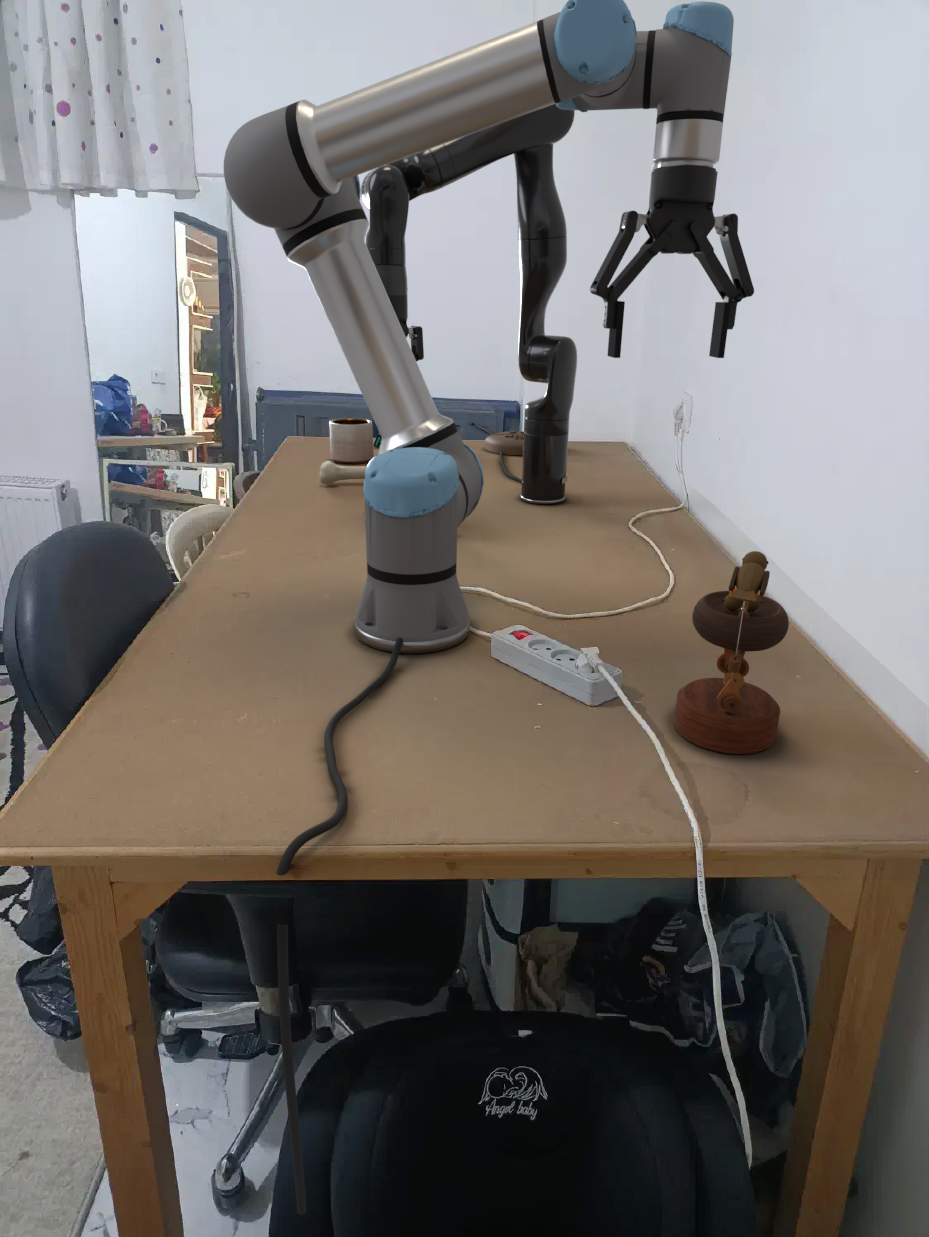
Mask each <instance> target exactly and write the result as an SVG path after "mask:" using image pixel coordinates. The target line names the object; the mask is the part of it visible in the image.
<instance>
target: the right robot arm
mask: <svg viewBox="0 0 929 1237" xmlns="http://www.w3.org/2000/svg"><path fill="white" fill-rule="evenodd" d="M575 111H576V110H562V109H560V108H558V107H557V106H556V104H553V105H550V106H547V107H545V108H542V109H539V110H536V111H533V112H531V113H528V114H525V115H522V116H520V117H517V118H514V119H511V120H509V121H506V122H503V123H500V124H497V125H495V126H492V127H489V128H486V129H484V130H481V131H478V132H475V133H473V134H470V135H467V136H464V137H461V138H459V139H456V140H453V141H450V142H448V143H445V144H442V145H439V146H437V147H434V148H431V149H428V150H425V151H423V152H420V153H417V154H414V155H412V156H409V157H406V158H403V159H401V160H398V161H395V162H392V163H389V164H387V165H384V166H381V167H378V168H376V169H373V170H370V171H368V173H367V174H366V175H365V176H364V177H363V180H362V182H361V184H360V189H361V194H360V197H361V199H362V202H363V203H364V205H365V206H366V207H367V208H368V210H369V226H368V229H367V233H366V236H365V244H366V246H367V249H368V251H369V253H370V256H371V258H372V260H373V263H374V265H375V267H376V270H377V272H378V274H379V277H380V279H381V281H382V283H383V286H384V288H385V290H386V293H387V295H388V297H389V300H390V302H391V304H392V307H393V309H394V311H395V314H396V316H397V318H398V321H399V323H400V325H401V327H402V330H403V332H404V334H405V337H406V339H407V338H408V337H409V339H410V348H411V351H412V353H413V355H414V358H415V360H416V362H417V363H418V362H419V361H422V360H424V358H425V352H424V351H425V350H424V333H423V332H424V330H423V327H422V326H420V325H411V326H409V327H408V324H407V321H408V318H409V316H408V315H409V313H408V310H409V309H408V290H409V289H408V274H407V266H406V265H407V257H406V256H407V255H406V254H407V252H406V251H407V250H406V232H407V226H408V217H409V208H410V202H411V201H412V200H415V199H416V198H418V197H420V196H423V195H426V194H430V193H433V192H436V191H439V190H441V189H442V188H444V187H448V186H449V185H451V184H453V183H455V182H457V181H459V180H461V179H463V178H466V177H468V176H469V175H471V174H473V173H476V172H477V171H480V170H481V169H483V168H486V167H487V166H489V165H491V164H493V163H495V162H497V161H500V160H501V159H505V158H506V157H509V156H512V155H513V158H514V167H515V175H516V176H515V178H516V206H517V207H516V209H517V210H516V212H517V254H518V269H519V270H518V271H519V293H520V294H519V326H518V328H519V329H518V344H517V361H518V368H519V372H520V375H521V376H522V378H523V379H524V380H526V381H528V382H531V383H540V384H547V385H546V391H545V393H544V395H543V396H541V397H539V398H536V399H533V400H530V401H528V402H526V404H525V406H524V417H523V418H524V419H523V420H524V421H523V423H524V424H523V432H524V443H523V455H522V470H521V471H522V472H521V478H519V477H517V476H515V475H513V474H512V473H510V472H509V471H508V470H507V467H506V466H505V462H504V454H503V452H502V451H501V452H500V454H499V461H500V466H501V468H502V470H503V472H504V474H505V475H506V476H507V477H509V478H511V479H512V480H514V481H516V482H518V483H521V490H520V491H521V493H520V500H521V501H523V502H526V503H529V504H536V505H556V504H561V503H563V502H565V500H566V483H567V482H568V476H567V465H568V449H569V432H570V417H571V416H570V415H571V409H572V406H573V402H574V395H575V385H576V384H575V383H576V376H577V369H578V350H577V346H576V343H575V342H574V340H573V339H572V338H571V337H568V336H565V335H564V336H563V335H551V334H550V335H549V334H546V331H545V328H546V326H545V322H546V312H547V308H548V304H549V302H550V300H551V298H552V296H553V293H554V291H555V290H556V288H557V286H558V284H559V282H560V280H561V279H562V276H563V275H564V272H565V269H566V266H567V262H568V235H567V234H568V229H567V221H566V216H565V212H564V208H563V206H562V202H561V198H560V195H559V193H558V189H557V186H556V182H555V181H556V180H555V175H554V144H557V143H558V142H560V141H561V140H562V139H564V138H565V137H566V136H567V135H568V134H569V132H570V130H571V128H572V126H573V124H574V121H575V114H576V113H575ZM470 425H471V426H473V425H475V426H476V427H477V428H478V429H480V430H482V431H484V432H486V433H488V434H489V435H492V434H494V432H493V431H491V430H489V429H488V428H485V427H484V426H481V425H479V424H478V425H477V424H475V423H473V422H472V421H471V423H470Z"/></svg>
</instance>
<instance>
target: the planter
mask: <svg viewBox="0 0 929 1237" xmlns="http://www.w3.org/2000/svg"><path fill="white" fill-rule="evenodd" d="M328 424H329V425H328V426H329V453H330V454H329V455H330V456H329V457H330V459H331V460H332V461H333V462H335V463H341V464H363V463H367V462H368V463H369V462H370V461H371V460H372V459H373V458H374V457H375V455H374V452H375V451H374V450H375V449H374V430H373V429H374V428H373V420H371V419H369V418H362V417H361V418H360V417H342V418H341V417H340V418H335V419H334V418H333V419H331V420H329V421H328Z"/></svg>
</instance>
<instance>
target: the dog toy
mask: <svg viewBox="0 0 929 1237" xmlns="http://www.w3.org/2000/svg"><path fill="white" fill-rule="evenodd" d="M366 467H367V465H366V466H365V465H364V466H361V465H360V466H359V465H358V466H357V465H356V466H355V465H354V466H353V465H352V466H345V465H339V464H336V463H334V461H331V460H326V461H323V462H322V463H321V465H320V466H319V475H318V477H319V482H320V483H321V484H324V485H325V484H326V485H331V484H334V483H335V482H337V481H338V482H339V481H347V480H365V470H366Z"/></svg>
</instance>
